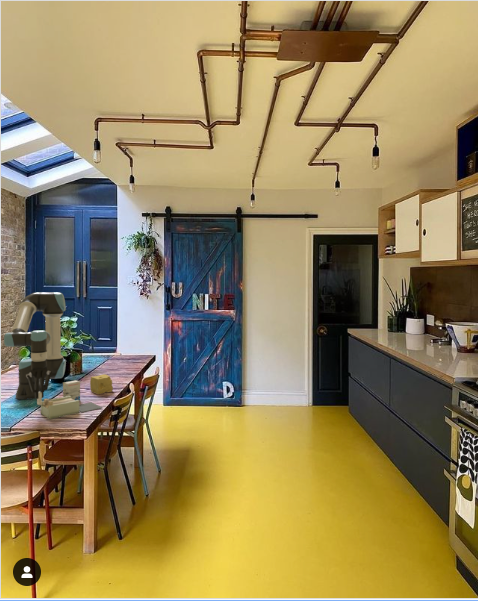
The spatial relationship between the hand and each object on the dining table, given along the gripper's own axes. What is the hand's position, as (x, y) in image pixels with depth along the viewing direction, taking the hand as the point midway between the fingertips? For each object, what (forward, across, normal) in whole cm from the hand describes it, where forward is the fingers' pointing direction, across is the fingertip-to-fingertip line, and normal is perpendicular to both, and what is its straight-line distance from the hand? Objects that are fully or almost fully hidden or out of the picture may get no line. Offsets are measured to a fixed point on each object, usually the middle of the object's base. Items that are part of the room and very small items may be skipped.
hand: (39, 404), depth 219 cm
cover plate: (+2, +11, 0) cm, 11 cm away
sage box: (+7, +11, 0) cm, 13 cm away
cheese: (+8, +48, +26) cm, 55 cm away
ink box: (+7, +25, +18) cm, 32 cm away
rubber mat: (+7, +26, 0) cm, 27 cm away
